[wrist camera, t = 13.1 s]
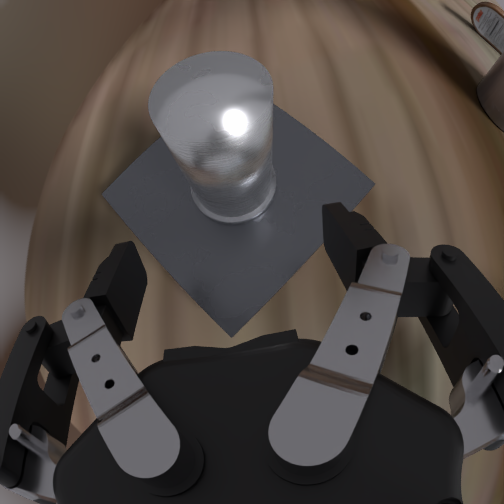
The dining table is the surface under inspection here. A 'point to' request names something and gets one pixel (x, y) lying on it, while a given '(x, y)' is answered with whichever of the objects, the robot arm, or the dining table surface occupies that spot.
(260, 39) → the dining table surface
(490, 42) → the tin
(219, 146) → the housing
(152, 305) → the dining table surface
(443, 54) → the dining table surface
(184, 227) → the stand
